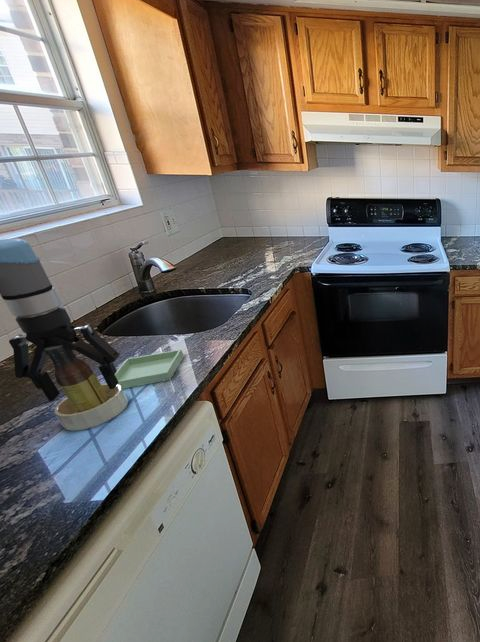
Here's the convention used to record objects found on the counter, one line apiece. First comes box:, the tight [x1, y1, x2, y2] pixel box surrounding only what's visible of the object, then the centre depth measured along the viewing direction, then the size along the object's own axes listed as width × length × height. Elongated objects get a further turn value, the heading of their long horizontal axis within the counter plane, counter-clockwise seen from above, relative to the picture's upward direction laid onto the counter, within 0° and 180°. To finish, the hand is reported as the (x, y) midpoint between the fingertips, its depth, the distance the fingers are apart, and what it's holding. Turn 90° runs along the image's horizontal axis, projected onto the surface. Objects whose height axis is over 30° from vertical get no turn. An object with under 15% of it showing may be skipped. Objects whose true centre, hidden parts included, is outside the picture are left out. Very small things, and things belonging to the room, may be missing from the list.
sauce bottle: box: [44, 345, 110, 413], centre depth 87 cm, size 6×6×20 cm
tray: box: [115, 348, 185, 390], centre depth 106 cm, size 14×13×2 cm
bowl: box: [54, 382, 129, 432], centre depth 90 cm, size 12×12×4 cm
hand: (85, 391), depth 88 cm, fingers open, 11 cm apart
